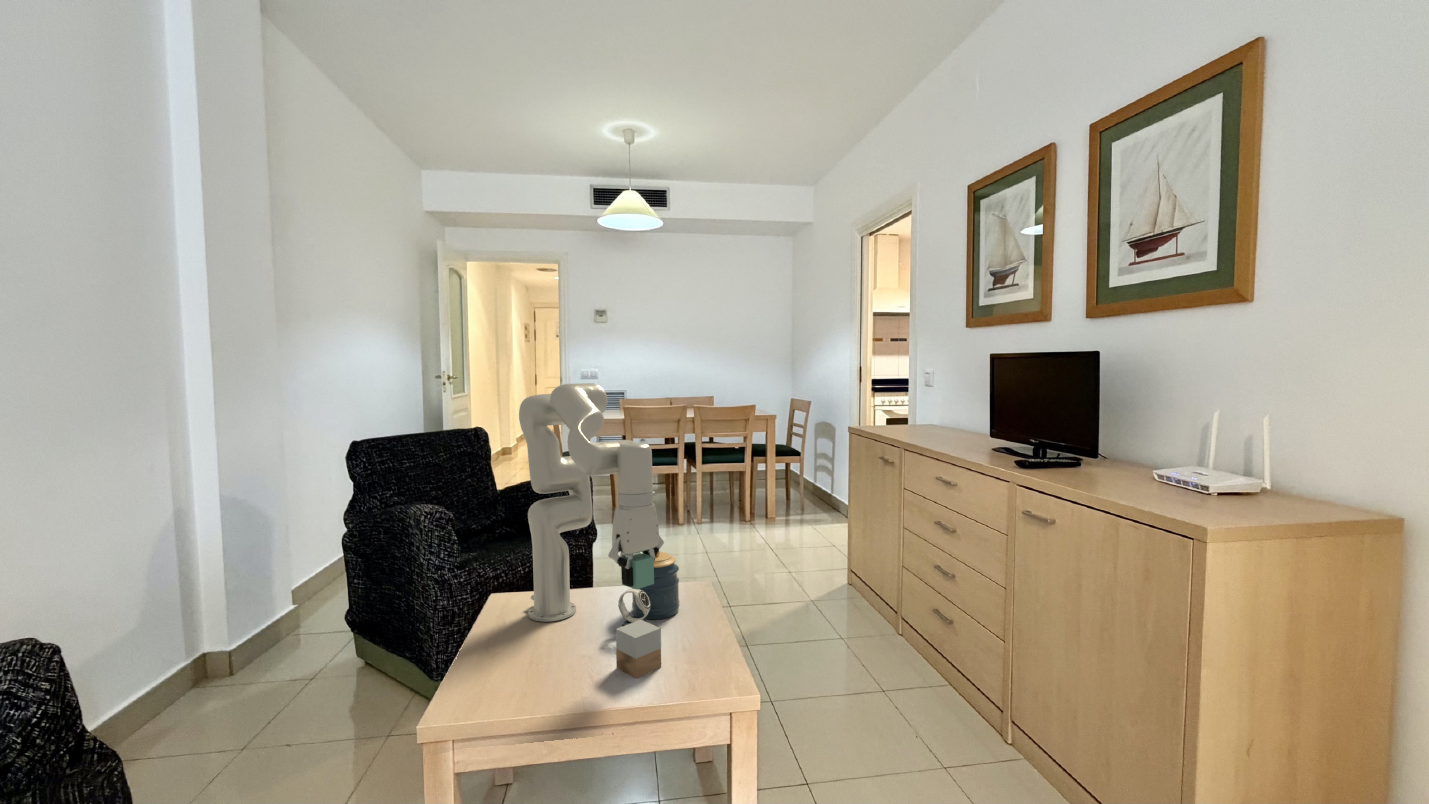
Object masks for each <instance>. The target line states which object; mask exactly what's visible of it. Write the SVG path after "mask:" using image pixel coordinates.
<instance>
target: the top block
mask: <svg viewBox="0 0 1429 804" xmlns="http://www.w3.org/2000/svg"><path fill="white" fill-rule="evenodd" d="M661 629H662V628H661V627H659V626H656V625H655V624H652V623H650V622H647V621H646V622H645V621H643V620H639V621H636V622H633V623H631V624H628V625H625V626H622V625H621V626H620V627H617V628H615V643H616V644H615V646H616V649H618V650H620V651H622V652H624V653H626V654H627V655H629V656H631V657H633V658H635V659H637V658H639V657H641V656H644V655H646V654H649V653H651V652H653V651H656V650H658V649H660V648H661V649H662V630H661ZM616 649H615V650H616Z"/></svg>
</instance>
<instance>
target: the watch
mask: <svg viewBox="0 0 1429 804" xmlns="http://www.w3.org/2000/svg"><path fill="white" fill-rule="evenodd" d="M630 593H632V596H633V595H634V597H635V600H636V603H637V605H638V607H639V608H640V609H641V610H642V611H643V614H645V615H644V617H637V616H636V615H634V616H633V615H630V612H629V610H628V609H627V607H626V604H625V602H624V597H625V595H626V594H630ZM650 606H651V603H650V599H649V597H648V595H647V594H646V593H645V592H644V591H641V590H640V589H637V590H636V589H633V588H628V589H627V590H625V591H624V592H623V593H622V594H621V595H620V596H619V599H618V605H617V607H618V609H619V613H620V615H621V616H622V617H623V619H624V620H625V621H624V622H623V623H622V624H621V627H622V626H625V625H628V624H631V623H633V622H636V621H639V620H643V621H645V622H647V619H646V616H647V615H648V613H649V610H650Z"/></svg>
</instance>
